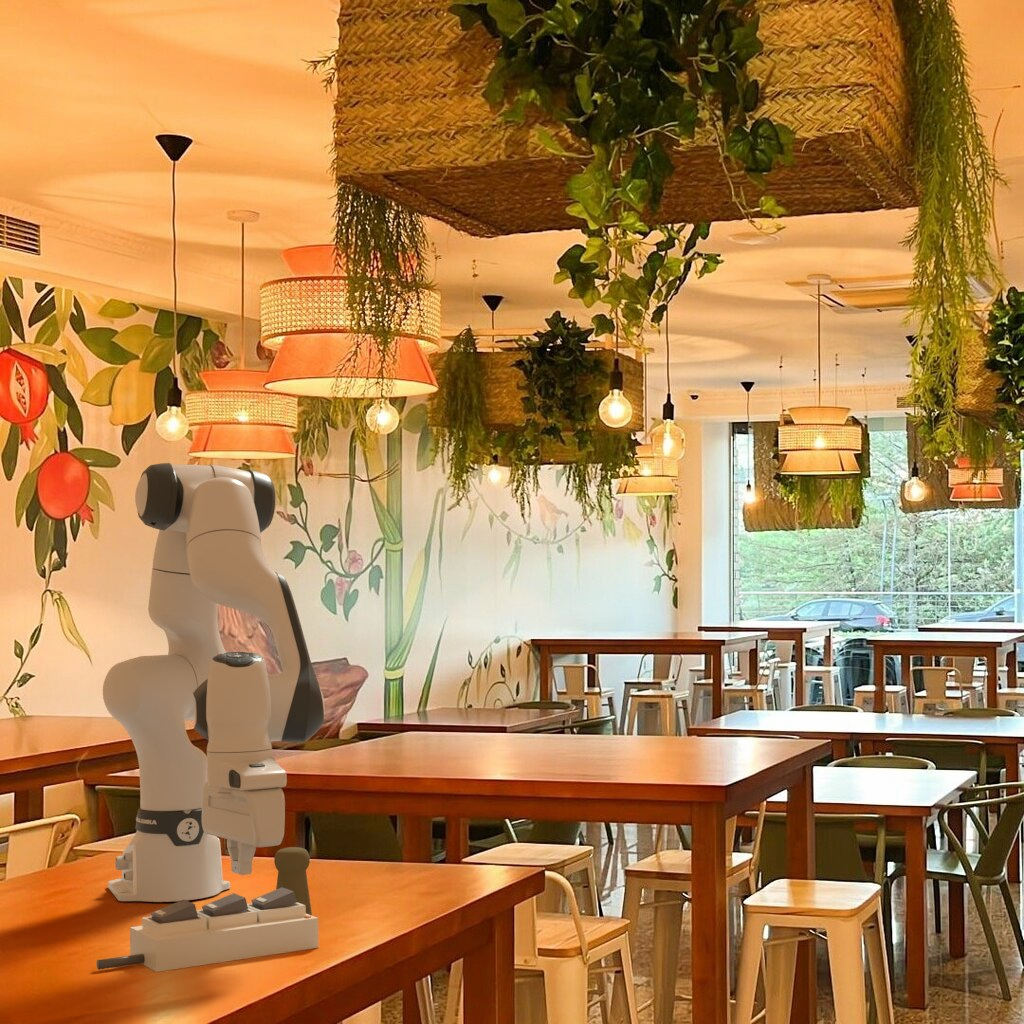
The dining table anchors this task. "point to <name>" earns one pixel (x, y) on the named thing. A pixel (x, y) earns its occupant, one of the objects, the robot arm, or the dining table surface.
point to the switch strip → (218, 938)
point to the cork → (294, 873)
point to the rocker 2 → (226, 906)
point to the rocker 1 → (175, 912)
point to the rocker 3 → (275, 899)
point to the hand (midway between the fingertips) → (241, 873)
